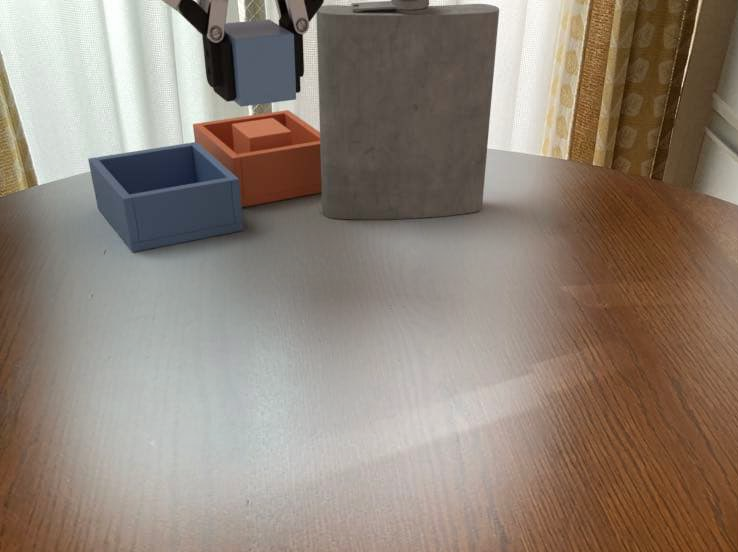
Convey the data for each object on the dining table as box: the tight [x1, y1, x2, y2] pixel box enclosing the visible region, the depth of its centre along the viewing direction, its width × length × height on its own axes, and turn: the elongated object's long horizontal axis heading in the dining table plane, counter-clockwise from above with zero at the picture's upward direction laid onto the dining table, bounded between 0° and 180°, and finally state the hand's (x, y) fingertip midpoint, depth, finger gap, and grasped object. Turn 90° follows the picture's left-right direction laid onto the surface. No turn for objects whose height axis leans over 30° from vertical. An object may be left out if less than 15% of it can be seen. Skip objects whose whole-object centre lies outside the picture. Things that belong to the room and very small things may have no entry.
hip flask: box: [315, 0, 500, 221], centre depth 84 cm, size 16×4×20 cm, turn 100°
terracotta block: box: [232, 118, 292, 155], centre depth 93 cm, size 4×4×4 cm
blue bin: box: [87, 141, 244, 253], centre depth 86 cm, size 11×11×5 cm
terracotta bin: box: [192, 109, 322, 208], centre depth 93 cm, size 11×11×5 cm
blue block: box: [225, 19, 297, 107], centre depth 69 cm, size 4×4×4 cm
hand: (256, 89), depth 70 cm, fingers closed on blue block, 4 cm apart
